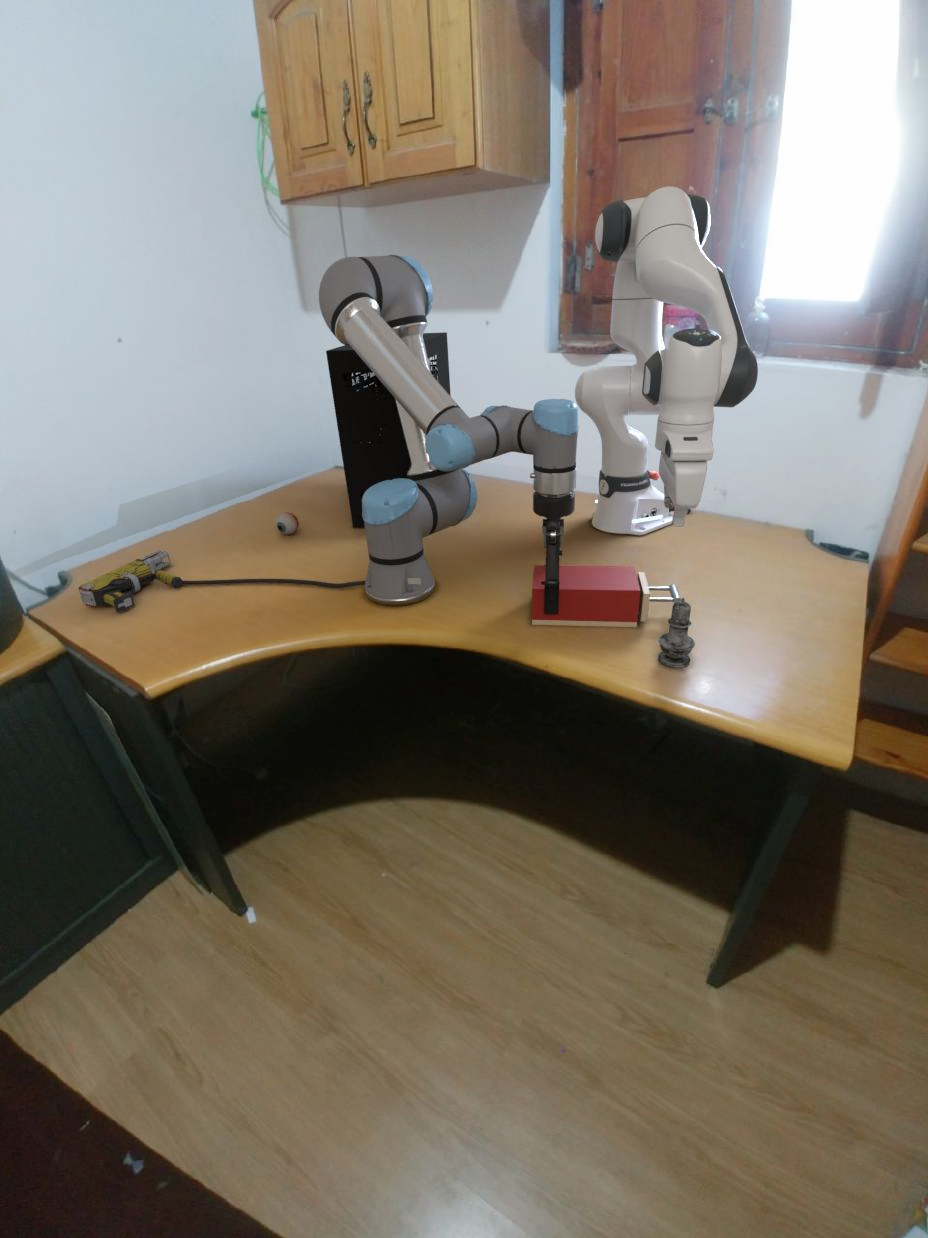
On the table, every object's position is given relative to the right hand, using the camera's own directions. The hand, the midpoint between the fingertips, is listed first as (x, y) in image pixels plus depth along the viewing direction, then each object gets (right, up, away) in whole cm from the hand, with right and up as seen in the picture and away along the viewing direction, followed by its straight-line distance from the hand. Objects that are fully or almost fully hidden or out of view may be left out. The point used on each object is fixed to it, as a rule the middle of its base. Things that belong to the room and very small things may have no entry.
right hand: (673, 515), depth 108 cm
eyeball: (-85, +5, +57) cm, 103 cm away
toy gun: (-111, -12, +32) cm, 116 cm away
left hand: (-20, -15, +12) cm, 27 cm away
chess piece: (-1, -26, -3) cm, 26 cm away
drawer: (-8, -17, +11) cm, 22 cm away
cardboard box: (-54, +15, +73) cm, 92 cm away
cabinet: (-14, -17, +12) cm, 25 cm away
